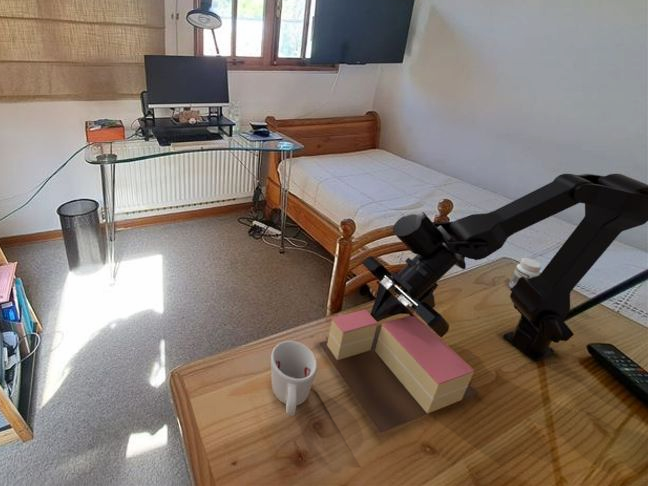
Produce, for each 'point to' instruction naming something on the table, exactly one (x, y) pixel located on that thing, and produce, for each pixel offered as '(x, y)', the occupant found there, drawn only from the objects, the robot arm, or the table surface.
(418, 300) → the robot arm
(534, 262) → the pill bottle
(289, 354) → the cup
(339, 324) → the cake slice
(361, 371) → the serving board
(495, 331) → the table surface
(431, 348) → the cake
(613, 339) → the table surface
